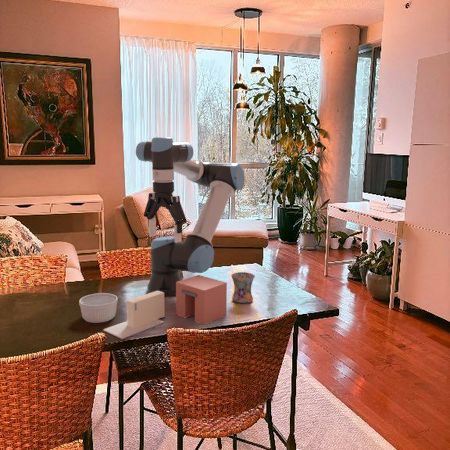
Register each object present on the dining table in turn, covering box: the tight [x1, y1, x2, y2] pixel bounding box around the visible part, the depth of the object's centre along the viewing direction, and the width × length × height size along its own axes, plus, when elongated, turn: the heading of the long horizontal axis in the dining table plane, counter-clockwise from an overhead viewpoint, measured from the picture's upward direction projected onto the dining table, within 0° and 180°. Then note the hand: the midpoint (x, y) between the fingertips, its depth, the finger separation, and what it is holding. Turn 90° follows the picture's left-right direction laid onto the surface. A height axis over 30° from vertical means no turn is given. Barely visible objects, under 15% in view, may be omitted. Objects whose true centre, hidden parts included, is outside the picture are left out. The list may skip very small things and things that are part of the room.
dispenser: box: [175, 274, 228, 326], centre depth 164 cm, size 14×13×12 cm
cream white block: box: [126, 291, 166, 328], centre depth 157 cm, size 4×14×9 cm, turn 140°
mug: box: [230, 271, 256, 304], centre depth 181 cm, size 12×9×11 cm
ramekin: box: [78, 292, 119, 324], centre depth 161 cm, size 13×13×7 cm
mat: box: [103, 319, 165, 340], centre depth 154 cm, size 10×18×1 cm, turn 140°
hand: (165, 238), depth 165 cm, fingers open, 13 cm apart
